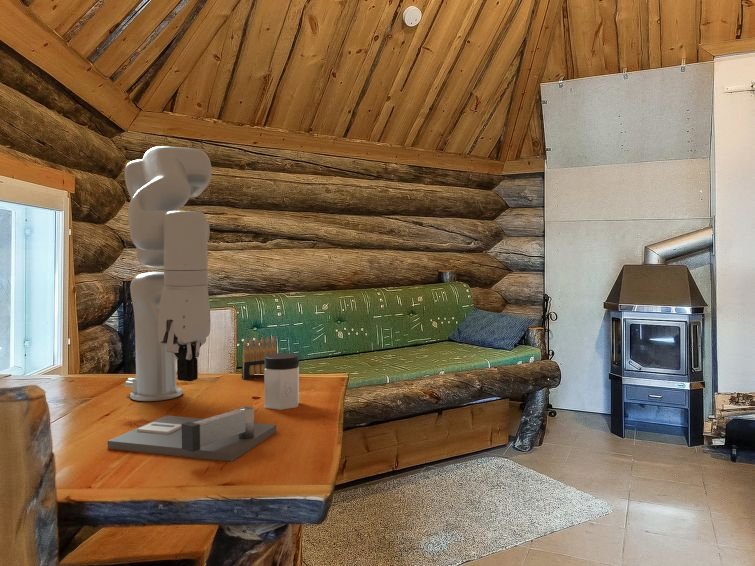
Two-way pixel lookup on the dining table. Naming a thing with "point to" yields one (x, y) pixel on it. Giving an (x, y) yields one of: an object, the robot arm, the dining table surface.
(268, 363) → the jar
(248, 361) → the ammunition clip
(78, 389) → the dining table surface
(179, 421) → the label board
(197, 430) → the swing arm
